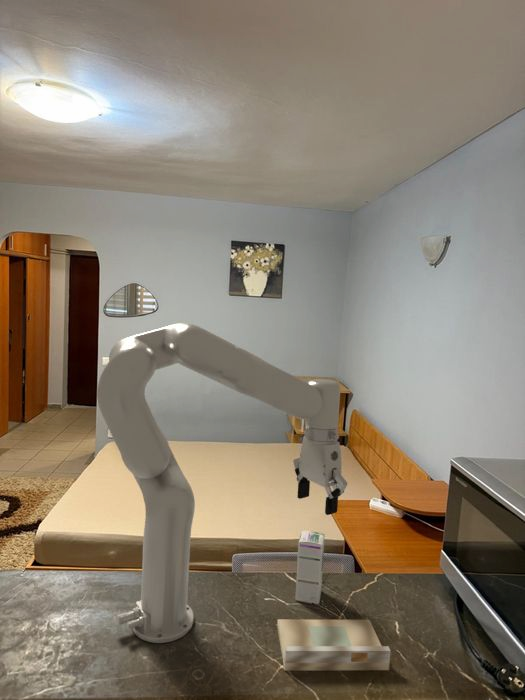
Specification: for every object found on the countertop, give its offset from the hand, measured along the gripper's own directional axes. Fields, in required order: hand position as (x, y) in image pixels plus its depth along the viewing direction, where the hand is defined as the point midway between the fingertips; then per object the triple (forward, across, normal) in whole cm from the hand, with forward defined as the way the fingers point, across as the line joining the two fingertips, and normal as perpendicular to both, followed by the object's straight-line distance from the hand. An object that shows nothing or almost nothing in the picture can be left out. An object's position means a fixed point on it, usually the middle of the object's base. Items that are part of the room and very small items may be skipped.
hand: (316, 505), depth 106 cm
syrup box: (+22, 0, +1) cm, 22 cm away
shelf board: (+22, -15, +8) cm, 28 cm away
